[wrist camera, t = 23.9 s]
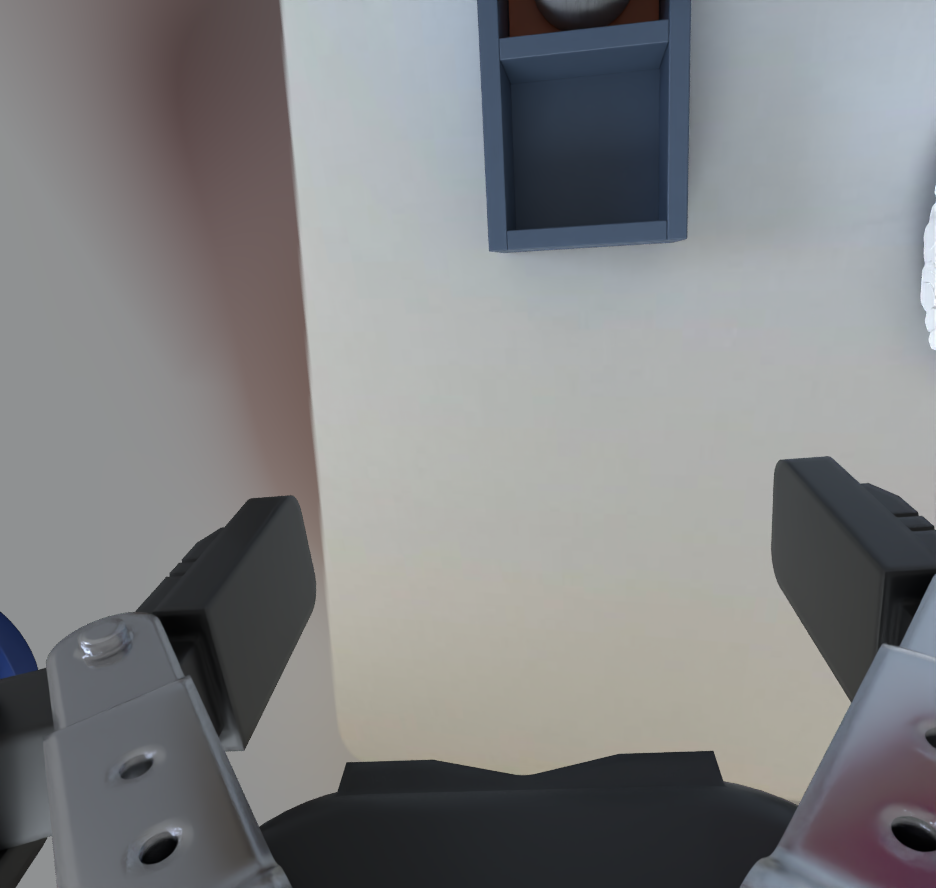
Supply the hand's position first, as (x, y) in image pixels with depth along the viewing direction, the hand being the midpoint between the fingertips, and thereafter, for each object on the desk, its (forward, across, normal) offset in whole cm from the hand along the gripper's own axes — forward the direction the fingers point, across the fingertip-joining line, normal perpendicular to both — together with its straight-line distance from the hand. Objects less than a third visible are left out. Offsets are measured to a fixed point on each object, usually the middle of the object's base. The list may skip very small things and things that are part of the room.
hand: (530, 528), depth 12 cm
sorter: (+25, -3, -10) cm, 27 cm away
